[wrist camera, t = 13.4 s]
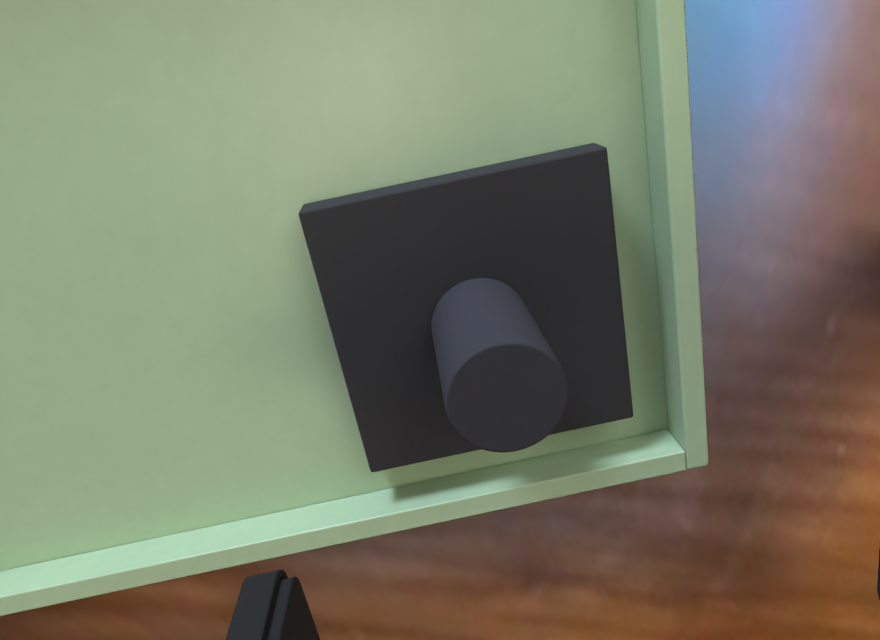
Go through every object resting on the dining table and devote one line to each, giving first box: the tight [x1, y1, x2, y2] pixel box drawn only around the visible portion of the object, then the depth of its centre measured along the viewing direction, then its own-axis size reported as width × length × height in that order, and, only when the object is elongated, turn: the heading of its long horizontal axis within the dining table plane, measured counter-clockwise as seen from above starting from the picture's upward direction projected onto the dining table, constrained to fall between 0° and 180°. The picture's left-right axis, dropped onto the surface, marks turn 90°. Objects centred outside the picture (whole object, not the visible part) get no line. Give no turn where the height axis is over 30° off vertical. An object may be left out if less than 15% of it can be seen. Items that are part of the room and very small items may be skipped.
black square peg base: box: [299, 143, 633, 472], centre depth 18 cm, size 9×9×6 cm
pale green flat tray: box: [0, 0, 708, 616], centre depth 19 cm, size 28×24×2 cm
